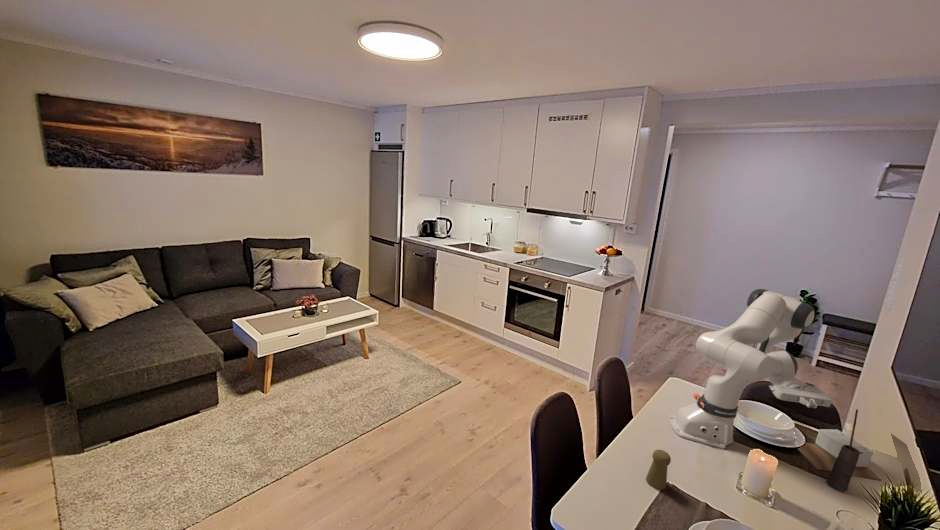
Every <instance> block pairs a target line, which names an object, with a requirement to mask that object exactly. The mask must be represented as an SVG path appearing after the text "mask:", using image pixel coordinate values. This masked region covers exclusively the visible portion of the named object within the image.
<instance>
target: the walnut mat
mask: <svg viewBox="0 0 940 530" xmlns="http://www.w3.org/2000/svg"><path fill="white" fill-rule="evenodd" d="M797 451H799V452H800V453H801V454H802V456H804V457H805V459H806V460H807V461H808V462H809V463H810V464H811V465H812V466H813V468H815V469H816V470H817V471H822V470H824V471H823V472H828V471H830V473H831V470H832V468H833V466H834V463H835V461H836V459H837V458H836V457H834V456H833V455H831V454H830V453H829V452H827V451H826V450H824V449H823V448H822V447H820V446H819V445H817V444H816V443H811V442H806V443H805V445H804V446H802V447H800V448H798V449H797ZM852 477H857V478H864V479H869V480H875V481H880V482H881V481H882V478H881V477H879V476H878V475H877V474H876V473H875V472H874V471H872V469H870V468H869V466H868V467H855V469H854V472H853V474H852Z"/></svg>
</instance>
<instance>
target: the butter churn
mask: <svg viewBox="0 0 940 530" xmlns="http://www.w3.org/2000/svg"><path fill="white" fill-rule="evenodd" d="M858 413H859V408H856V409H855V413H854V419H853V426H852V429H851V430H852V431H851V435H850V438H851V440H850V445H843V447H842V448H841V451H840V453H839V456H838V458H837V459H836V461H835V463H834V466H833V468H832V470H831V472H830V473H829V474H828V476H827V478H826V484H827V485H828V486H829V487H831V488H833V489H834V490H835V491H838V492H842V493H846V492H847V491H848V489H849V485H850V482H851V479H852V477H853V476H852V474H853V472H854V469H855V467H856V464H857V461H858V458H859V454H863V453H862V452H859V451H858V450H857V449H856V448H854V447H852V442H853V440H854V436H855V429H856V424H857V418H858Z"/></svg>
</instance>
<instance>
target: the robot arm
mask: <svg viewBox="0 0 940 530" xmlns="http://www.w3.org/2000/svg"><path fill="white" fill-rule="evenodd" d="M746 305H747V307H746V309H745V311H744V312H743V313H742V314H741V315H740V317H739V318H737V320H736V321H735V322H734V323H732V324H730V325H728V326H727V327H724V328H721V329H718V330H716V331H715V330H714V331H706V332H704V333H702V334H701V335H699V336H698V338H697V340H696V343H695V349H696V352H697V353H698V354H699V355H700V356H702V358H704V359H706V360H707V361H710V362H712V363H714V364H716V365H718V366H721V367H723V368H725V369H726V371H725V372H726V373H716V374H713V375H710V376H709V378H708V379H707V380H706V381H707V382H706V385H705V390H704V393H703V394H702V395H701V396H700V395H699V393H697V392H694V393H693V395H692V397H693V398H694V400H696V402H694V403H690V404H688V405H685V406H681V407H680V408H679V409H678V410H677V412H676V414H670V415H669V416H668V423H669V425H670V427H671V429H672V430H673V431H674V433H676V434H677V435H678V436H679V437H680V438H683V439H686V440H688V441H694V442H697V443H702V444H705V445H707V446H708V445H709V446H712V447H716V448H719V449H726V448H727V446H728V445H731V444H732V443H733V442H734V433H733V432H734V423H735V419H736V417H737V415H738V410H739V405H738V404H739V401H740V398H741V395H742V392H743V391H744V389H745V388H746V387H747V386H748V385H749V384H751V383H754V382H759V381H763V380H766V379H767V380H768V381H769V382H770V383H771V385H769V386H768V388H769V389H770V390H771V392H772V394H773V395H774V397H776V399H777V400H781V401H785V402H794V403H800V404H802V405H805V406H806V407H807V408H811V409H817V407H818V406H821V407H826V408H830V406H831V404H832V402H833V399H832V398H831V397H830V396H829V395H828V394H827V393H825V392H824V391H823V390H821V389H819V387H818V386H817V385H816V384H812V383H809V382H806V381H803V380H802V379H798V378H796V377H795V376H796V375H797V373H798V370H799V365H798V361H797V359H796V358H795V356H794V355H792V354H791V353H790V352H789V351H786V350H776V351H772V352H771V351H770V352H769V350H770V349H771V348H772V347H774V346H775V345H778V344H780V343H783V342H787V341H791V340H793V339H796V338H797V337H798V336H799V335H800V334H801V332H802V330H803V329H806V328H808V327H809V326H810V325H811V324H812V323H813V322H814V318H815V313H816V312H815V309H814V307H813V305H810V304H809V303H806V302H805V301H801V300H799V299H798V298H797V297H793V296H787V295H785V294H781V293H779V292H774V291H769V290H768V289H764V288H758V289H757V288H756V289H754V290H753V291H752V292H751V293H750V294H749V296H748V297H747V301H746ZM750 344H751V345H753V346H750Z"/></svg>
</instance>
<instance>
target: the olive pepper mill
mask: <svg viewBox="0 0 940 530" xmlns="http://www.w3.org/2000/svg"><path fill="white" fill-rule="evenodd" d="M671 459H672V458H671V455H670V454H669V453H668V452H666V451H665V450H663V449H656V450H654V451H653V452H652V463H651V465H650V468H649V470H648V472H647V475H646V477H645V481H646V483H647V485H649V486H650V487H651V488H653V489H655V490H659V491H662V490H665V489H666V488H667V479H668V466H669V465H670V464H671Z"/></svg>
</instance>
